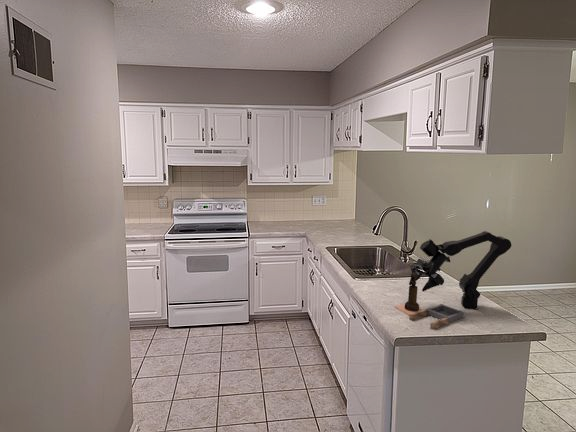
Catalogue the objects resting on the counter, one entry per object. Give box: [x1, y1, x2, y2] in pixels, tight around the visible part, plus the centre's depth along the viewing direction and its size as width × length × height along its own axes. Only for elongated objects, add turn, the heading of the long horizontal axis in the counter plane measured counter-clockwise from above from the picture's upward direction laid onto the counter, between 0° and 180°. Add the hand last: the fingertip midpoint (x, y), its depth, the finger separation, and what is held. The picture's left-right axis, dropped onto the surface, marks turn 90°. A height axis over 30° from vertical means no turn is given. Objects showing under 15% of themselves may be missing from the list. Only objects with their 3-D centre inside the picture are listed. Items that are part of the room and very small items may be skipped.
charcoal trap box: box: [426, 303, 465, 324], centre depth 194 cm, size 12×12×2 cm
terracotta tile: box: [394, 304, 425, 316], centre depth 200 cm, size 11×11×1 cm
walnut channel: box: [408, 308, 449, 330], centre depth 187 cm, size 11×12×2 cm
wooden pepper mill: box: [404, 272, 420, 311], centre depth 198 cm, size 7×6×18 cm
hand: (415, 287), depth 199 cm, fingers open, 9 cm apart
